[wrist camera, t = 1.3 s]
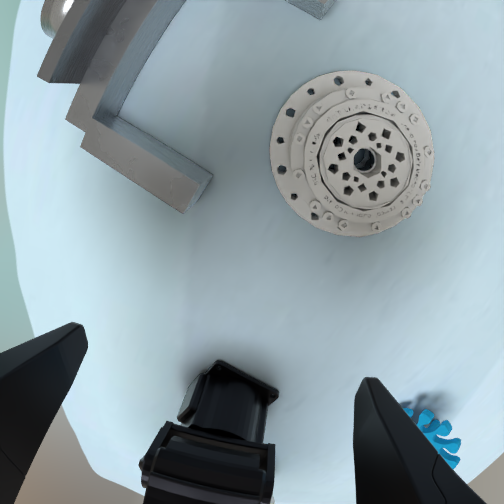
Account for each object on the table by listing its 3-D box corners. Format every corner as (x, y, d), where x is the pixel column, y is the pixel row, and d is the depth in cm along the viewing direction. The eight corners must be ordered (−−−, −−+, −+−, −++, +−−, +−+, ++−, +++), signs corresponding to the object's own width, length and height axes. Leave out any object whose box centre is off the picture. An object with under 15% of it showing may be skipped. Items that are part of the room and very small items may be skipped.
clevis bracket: (337, -2, 14) (351, -43, 9) (197, 200, 21) (163, 232, 15) (157, -71, 12) (120, -107, 7) (50, 107, 19) (-7, 114, 13)
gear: (410, 396, 23) (475, 464, 17) (435, 367, 27) (493, 427, 21) (351, 446, 29) (403, 501, 23) (380, 420, 33) (428, 470, 27)
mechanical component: (451, 137, 17) (324, 43, 16) (485, 145, 13) (332, 23, 12) (369, 255, 21) (241, 176, 20) (383, 288, 17) (227, 191, 16)
